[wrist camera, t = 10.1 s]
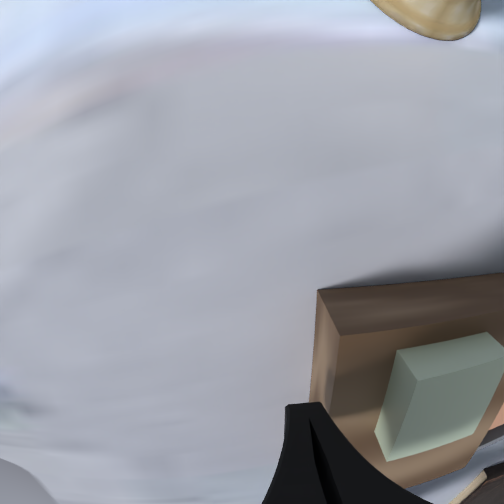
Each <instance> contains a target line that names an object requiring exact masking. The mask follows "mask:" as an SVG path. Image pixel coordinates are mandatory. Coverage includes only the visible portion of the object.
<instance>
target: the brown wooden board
mask: <svg viewBox="0 0 504 504" xmlns="http://www.w3.org/2000/svg"><path fill="white" fill-rule="evenodd" d="M483 332H488V333H489V334H490V335H491V336H492V337H493V338H494V339H495V340H496V341H497V342H499V343H500V344H501V345H502V346H503V347H504V273H495V274H487V275H478V276H470V277H461V278H451V279H442V280H432V281H422V282H411V283H400V284H389V285H377V286H364V287H351V288H337V289H322V290H317V304H316V321H315V337H314V351H313V364H312V375H311V386H310V397H309V403H310V402H321V403H322V404H323V406H324V408H325V409H326V411H327V413H328V414H329V416H330V417H331V419H332V420H333V421H334V423H335V424H336V426H337V427H338V428H339V430H340V431H341V432H342V433H343V435H344V436H345V437H346V438H347V439H348V441H349V442H350V443H351V444H352V445H353V446H354V448H355V449H356V450H357V451H358V452H359V453H360V454H361V455H362V456H363V457H364V458H365V459H366V460H367V461H368V462H369V463H370V464H372V465H373V466H374V467H375V468H376V469H377V470H379V471H380V472H381V473H382V474H384V475H385V476H386V477H387V478H389V479H390V480H392V481H393V482H395V483H396V484H398V485H399V486H401V487H402V488H404V489H405V488H409V487H412V486H415V485H418V484H421V483H424V482H427V481H430V480H433V479H436V478H438V477H441V476H444V475H446V474H449V473H452V472H454V471H457V470H459V469H461V468H464V467H465V466H466V465H467V463H468V462H469V460H470V459H471V457H472V456H473V454H474V453H475V451H476V450H477V448H478V447H479V445H480V443H481V442H482V440H483V439H484V437H485V435H486V434H487V432H488V430H489V429H490V427H491V425H492V423H493V422H494V420H495V418H496V416H497V414H498V413H499V411H500V409H501V407H502V405H503V403H504V373H503V375H502V377H501V380H500V382H499V384H498V386H497V388H496V391H495V393H494V395H493V397H492V399H491V401H490V403H489V405H488V407H487V409H486V411H485V413H484V415H483V417H482V419H481V420H480V422H479V424H478V426H477V428H476V429H475V431H474V433H473V434H472V435H469V436H467V437H464V438H462V439H459V440H456V441H454V442H451V443H448V444H445V445H442V446H439V447H436V448H433V449H430V450H427V451H424V452H421V453H417V454H414V455H410V456H407V457H403V458H400V459H396V460H392V461H388V462H386V459H385V457H384V454H383V452H382V449H381V447H380V444H379V442H378V439H377V437H376V435H375V432H374V431H375V428H376V425H377V422H378V419H379V415H380V412H381V409H382V405H383V402H384V399H385V395H386V391H387V388H388V384H389V380H390V376H391V372H392V368H393V364H394V360H395V356H396V352H397V350H400V349H406V348H412V347H417V346H423V345H428V344H433V343H438V342H443V341H448V340H453V339H457V338H462V337H466V336H471V335H475V334H479V333H483Z"/></svg>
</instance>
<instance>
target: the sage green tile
mask: <svg viewBox="0 0 504 504" xmlns="http://www.w3.org/2000/svg"><path fill="white" fill-rule="evenodd" d="M503 373H504V347H503V346H502V345H501V344H500V343H499V342H497V341H496V340H495V339H494V338H493V337H492V336H491V335H490V334H489V333H488V332H483V333H479V334H475V335H471V336H466V337H462V338H457V339H453V340H448V341H443V342H438V343H433V344H428V345H423V346H417V347H412V348H406V349H400V350H397V352H396V356H395V360H394V364H393V368H392V372H391V376H390V380H389V384H388V388H387V391H386V395H385V399H384V402H383V405H382V409H381V412H380V415H379V419H378V422H377V425H376V428H375V431H374V432H375V435H376V437H377V439H378V442H379V444H380V447H381V449H382V452H383V454H384V457H385V459H386V462H388V461H392V460H396V459H400V458H403V457H407V456H410V455H414V454H417V453H421V452H424V451H427V450H430V449H433V448H436V447H439V446H442V445H445V444H448V443H451V442H454V441H456V440H459V439H462V438H464V437H467V436H469V435H472V434H473V433H474V431H475V429H476V428H477V426H478V424H479V422H480V420H481V419H482V417H483V415H484V413H485V411H486V409H487V407H488V405H489V403H490V401H491V399H492V397H493V395H494V393H495V391H496V388H497V386H498V384H499V382H500V380H501V377H502V375H503Z"/></svg>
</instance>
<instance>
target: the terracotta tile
mask: <svg viewBox="0 0 504 504" xmlns="http://www.w3.org/2000/svg"><path fill="white" fill-rule="evenodd" d="M502 424H504V403H503V405H502V407H501V409H500V411H499V413H498V414H497V416H496V418H495V420H494V422H493V423H492V425H491V427H490V429H489V430H491V429H493V428H495V427H498V426H500V425H502Z"/></svg>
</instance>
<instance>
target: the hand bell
mask: <svg viewBox="0 0 504 504" xmlns="http://www.w3.org/2000/svg"><path fill="white" fill-rule="evenodd" d="M371 1H372V2H373V3H374V4H375V5H376V6H377V7H378V8H379V9H380V10H381V11H383V12H384V13H385V14H386V15H388V16H389V17H390V18H392V19H393V20H395V21H396V22H397V23H399V24H400V25H402V26H404V27H406V28H407V29H409V30H411V31H413V32H416V33H418V34H420V35H423V36H426V37H429V38H433V39H438V40H452V41H453V40H457V39H460V38H463V37H465V36H466V35H468V34H469V33H470V32H471V31H472V30H473V29H474V28H475V26H476V24H477V22H478V20H479V17H480V12H481V0H371Z"/></svg>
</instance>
